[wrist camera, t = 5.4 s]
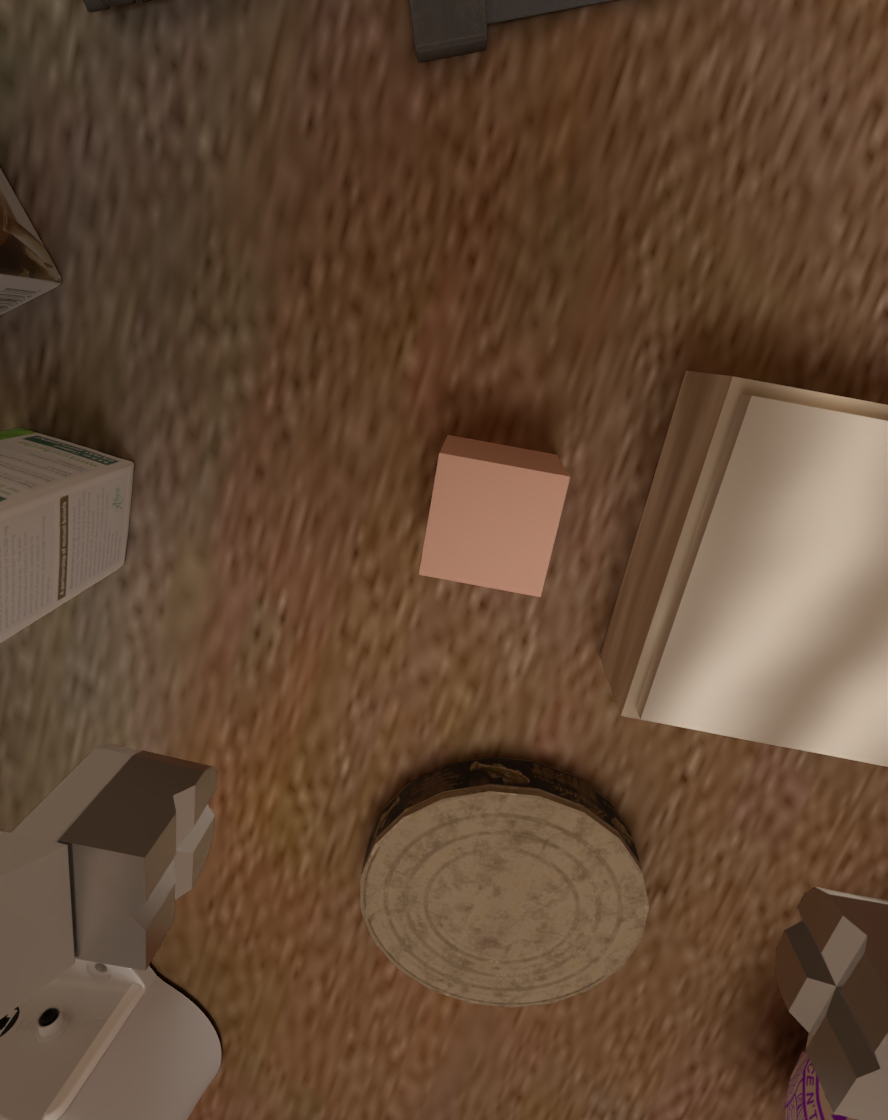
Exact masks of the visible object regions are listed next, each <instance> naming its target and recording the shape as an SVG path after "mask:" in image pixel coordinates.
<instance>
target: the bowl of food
mask: <svg viewBox="0 0 888 1120" xmlns="http://www.w3.org/2000/svg"><path fill="white" fill-rule="evenodd" d="M785 1112H786V1120H858V1119H854V1118H850V1117H846V1116H841V1115H837V1114H834V1113H833V1111H832V1109H831V1107H830V1104H829V1102H828V1100H827V1098H826V1095H825V1093H824V1091H823V1089H822V1086H821V1084H820V1082H819V1080H818V1077H817V1075H816V1073H815V1071H814V1068H813V1066H812V1064H811V1062H810V1059H809V1057H808V1055H807V1053H806V1050H804V1051H803V1052H802V1053H801V1055H800V1057H799V1059H798V1061H797V1064H796V1066H795V1068H794V1070H793V1072H792V1075H791V1077H790V1081H789V1086H788V1091H787V1096H786V1101H785Z"/></svg>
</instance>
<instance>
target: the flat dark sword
mask: <svg viewBox="0 0 888 1120" xmlns="http://www.w3.org/2000/svg"><path fill="white" fill-rule="evenodd" d="M83 1H84V3H85V6H86V8H87V11H88V12H95V11H100V10H105V9H109V8H110V5H114V6H115V7H120V6H125V5H130V4H134V3H136V0H83ZM141 1H142V2H146V1H150V0H141ZM608 1H614V0H409V4H410V12H411V20H412V28H413V36H414V43H415V50H416V55H417V58H418V61H419V63H420V62H425V61H430V60H436V59H441V58H446V57H452V56H457V55H462V54H468V53H473V52H478V51H484V50H486V45H487V25H488V24H493V23H498V22H504V21H509V20H514V19H519V18H525V17H530V16H535V15H540V14H545V13H551V12H556V11H561V10H566V9H572V8H577V7H582V6H587V5H593V4H598V3H603V2H608Z"/></svg>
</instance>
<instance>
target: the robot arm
mask: <svg viewBox="0 0 888 1120" xmlns="http://www.w3.org/2000/svg"><path fill="white" fill-rule="evenodd" d="M216 774H217V770H216V769H214V768H213V767H212V766H209V765H205V764H200V763H196V762H191V761H187V760H183V759H178V758H174V757H169V756H165V755H161V754H156V753H152V752H147V751H138V750H134V749H130V748H126V747H121V746H117V745H113V744H109V743H106V744H104V745H101V746H99V747H97V748H95V749H94V750H93V751H92V752H91V753H90V754H89V755H88V756H87V757H86V758H85V759H84V760H83V761H82V762H81V763H80V764H79V765H78V766H77V767H76V768H75V769H74V770H73V771H72V772H71V773H70V774H69V775H68V776H67V777H66V778H65V779H64V780H63V781H62V782H61V783H60V784H59V785H58V786H57V787H56V788H55V789H54V790H53V791H52V792H51V793H50V794H49V795H48V796H47V797H46V798H45V799H44V800H43V801H42V802H41V803H40V804H39V805H38V806H37V807H36V808H35V809H34V810H33V811H32V812H31V813H30V814H29V815H28V816H27V817H26V818H25V819H24V820H23V821H22V822H21V823H20V824H19V825H18V826H17V827H16V828H15V829H14V830H13V831H12V832H11V833H9V832H3V831H0V1120H187V1119H188V1118H189V1116H190V1114H191V1112H192V1111H193V1109H194V1107H195V1106H196V1104H197V1102H198V1101H199V1099H200V1098H201V1096H202V1095H203V1093H204V1092H205V1090H206V1089H207V1087H208V1086H209V1084H210V1083H211V1081H212V1080H213V1079H214V1077H215V1076H216V1074H217V1072H218V1070H219V1067H220V1064H221V1046H220V1041H219V1038H218V1036H217V1033H216V1031H215V1029H214V1027H213V1026H212V1024H211V1022H210V1021H209V1020H208V1018H207V1017H206V1016H205V1015H204V1013H203V1012H202V1011H201V1010H200V1009H199V1008H198V1007H197V1006H196V1005H195V1004H194V1003H193V1002H192V1001H190V1000H189V999H188V998H187V997H186V996H184V995H183V994H182V993H180V992H179V991H177V990H176V989H174V988H173V987H171V986H170V985H168V984H167V983H165V982H164V981H163V980H161V979H160V978H159V977H158V976H157V975H156V974H155V972H154V971H153V970H152V968H151V967H150V966H149V964H150V962H151V961H152V959H153V957H154V955H155V954H156V952H157V950H158V948H159V946H160V945H161V943H162V941H163V939H164V938H165V936H166V934H167V932H168V931H169V929H170V927H171V925H172V923H173V922H174V915H175V899H177V898H179V897H180V896H182V895H183V894H185V893H186V892H188V891H190V890H191V889H192V888H193V886H194V884H195V882H196V880H197V878H198V877H199V875H200V873H201V871H202V869H203V866H204V863H205V861H206V858H207V855H208V853H209V850H210V847H211V843H212V838H213V833H214V825H215V814H214V813H213V812H212V810H211V809H210V807H209V806H208V803H209V801H210V799H211V798H212V796H213V794H214V793H215V791H216ZM797 908H798V911H799V914H800V916H801V919H802V921H800V922H799V923H797V924H795V925H793V926H791V927H790V928H788V929H786V930H784V932H783V934H782V937H781V939H780V941H779V943H778V945H777V948H776V965H775V972H776V976H777V981H778V985H779V990H780V992H781V995H782V997H783V1000H784V1002H785V1004H786V1007H787V1009H788V1011H789V1012H790V1013H791V1014H792V1016H793V1017H794V1018H795V1019H796V1020H797V1021H798V1022H799V1023H800V1024H801V1025H802V1026H803V1027H804V1028H805V1029H806V1030H807V1031H808V1032H809V1035H808V1040H807V1045H806V1049H805V1050H806V1053H807V1055H808V1057H809V1059H810V1062H811V1064H812V1066H813V1068H814V1071H815V1073H816V1075H817V1077H818V1080H819V1082H820V1084H821V1086H822V1089H823V1091H824V1093H825V1095H826V1098H827V1100H828V1102H829V1104H830V1107H831V1109H832V1111H833V1113H834V1114H837V1115H841V1116H846V1117H850V1118H854V1119H858V1120H888V901H885V900H881V899H876V898H870V897H865V896H860V895H855V894H850V893H844V892H839V891H834V890H829V889H823V888H818V887H814V888H812V889H810V890H809V891H807V892H805V893H804V895H803V897H802V898H801V900H800V902H799V904H798V906H797Z"/></svg>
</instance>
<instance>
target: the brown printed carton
mask: <svg viewBox="0 0 888 1120" xmlns="http://www.w3.org/2000/svg"><path fill="white" fill-rule="evenodd" d="M60 284H61V276H60V274H59V273H58V271H57V269H56V267H55V265H54V263H53V262H52V260H51V258H50V256H49V254H48V252H47V251H46V249H45V247H44V245H43V243H42V242H41V240H40V238H39V236H38V234H37V233H36V231H35V229H34V227H33V225H32V224H31V222H30V220H29V218H28V216H27V215H26V213H25V211H24V209H23V208H22V206H21V204H20V202H19V200H18V199H17V197H16V195H15V193H14V191H13V190H12V188H11V186H10V184H9V183H8V181H7V179H6V177H5V175H4V174H3V172H2V170H1V168H0V316H1V315H3V314H5V313H7V312H9V311H11V310H13V309H15V308H17V307H19V306H21V305H22V304H24V303H26V302H28V301H30V300H32V299H34V298H36V297H38V296H40V295H42V294H44V293H46V292H48V291H50V290H52V289H54V288H56V287H58V286H59V285H60Z"/></svg>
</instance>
